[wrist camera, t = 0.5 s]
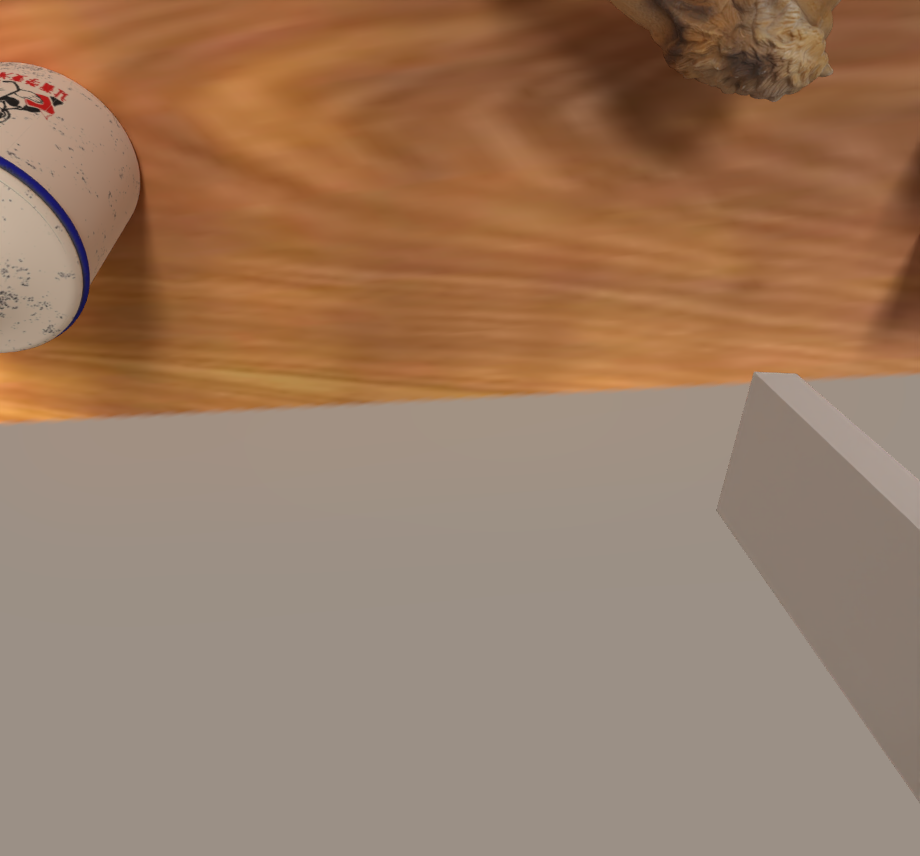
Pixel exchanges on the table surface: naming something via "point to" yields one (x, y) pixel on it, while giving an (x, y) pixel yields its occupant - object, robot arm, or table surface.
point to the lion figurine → (740, 41)
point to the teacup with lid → (56, 200)
